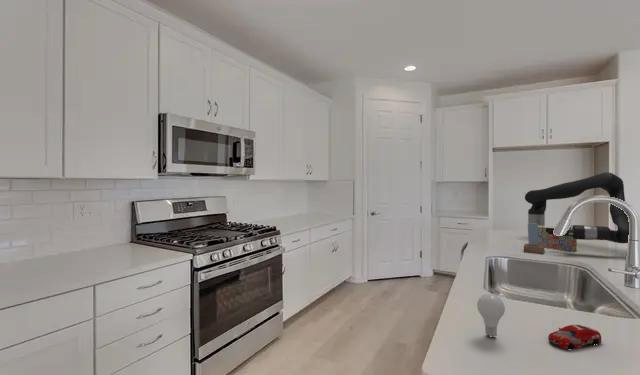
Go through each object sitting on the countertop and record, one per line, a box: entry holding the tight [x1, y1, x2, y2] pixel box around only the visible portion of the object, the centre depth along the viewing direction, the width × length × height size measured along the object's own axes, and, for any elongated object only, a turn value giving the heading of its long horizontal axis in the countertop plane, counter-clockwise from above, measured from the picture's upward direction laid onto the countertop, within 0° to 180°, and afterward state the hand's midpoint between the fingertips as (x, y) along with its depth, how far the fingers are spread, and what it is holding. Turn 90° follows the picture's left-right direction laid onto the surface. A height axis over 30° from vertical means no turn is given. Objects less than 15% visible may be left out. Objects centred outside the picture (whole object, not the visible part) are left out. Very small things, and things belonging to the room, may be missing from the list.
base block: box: [523, 243, 545, 255], centre depth 181 cm, size 9×9×4 cm
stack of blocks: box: [538, 225, 578, 252], centre depth 191 cm, size 21×6×12 cm, turn 26°
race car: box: [547, 324, 602, 350], centre depth 80 cm, size 13×5×4 cm, turn 103°
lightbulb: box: [476, 293, 506, 337], centre depth 84 cm, size 6×6×11 cm
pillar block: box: [527, 222, 539, 246], centre depth 182 cm, size 4×4×12 cm
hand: (547, 231), depth 178 cm, fingers open, 8 cm apart
